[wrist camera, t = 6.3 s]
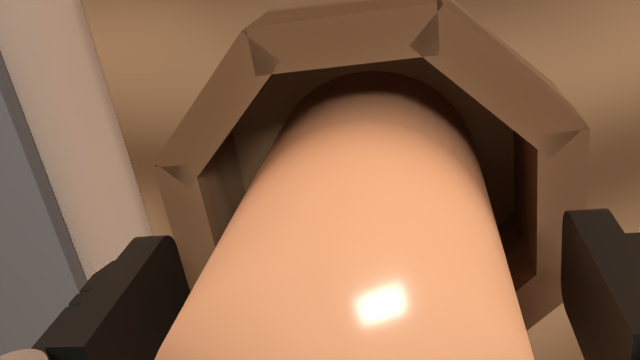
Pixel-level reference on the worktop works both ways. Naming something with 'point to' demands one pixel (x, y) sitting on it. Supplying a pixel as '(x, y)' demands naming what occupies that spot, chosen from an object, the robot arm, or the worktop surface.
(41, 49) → the worktop surface
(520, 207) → the walnut holder
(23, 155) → the charcoal mat
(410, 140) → the peach ice lolly
